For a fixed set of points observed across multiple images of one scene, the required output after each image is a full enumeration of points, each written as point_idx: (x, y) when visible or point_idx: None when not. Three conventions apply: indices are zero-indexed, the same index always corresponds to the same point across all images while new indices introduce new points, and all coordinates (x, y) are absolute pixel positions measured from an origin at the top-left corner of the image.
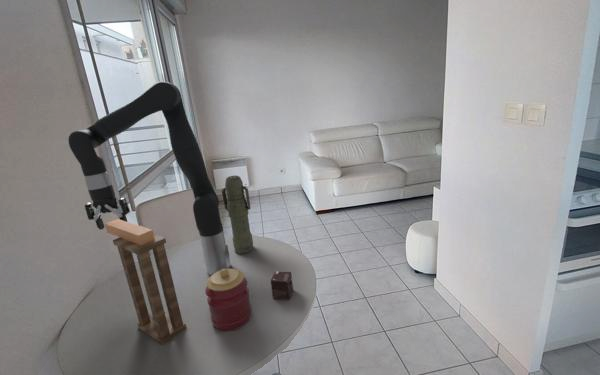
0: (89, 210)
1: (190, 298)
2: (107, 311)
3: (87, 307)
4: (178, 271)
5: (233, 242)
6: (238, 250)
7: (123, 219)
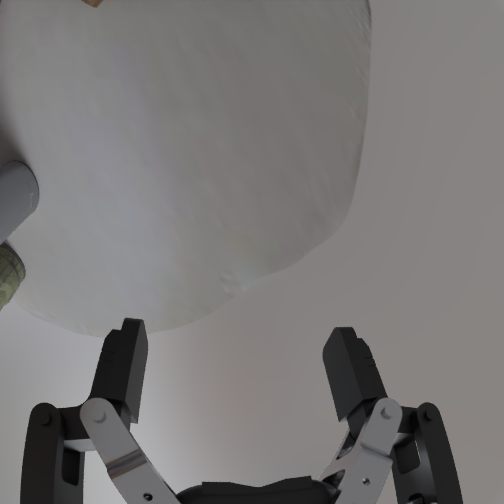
0: (433, 487)
1: (41, 65)
2: (267, 34)
3: (342, 79)
4: (111, 202)
5: (5, 274)
6: (5, 253)
7: (105, 374)
